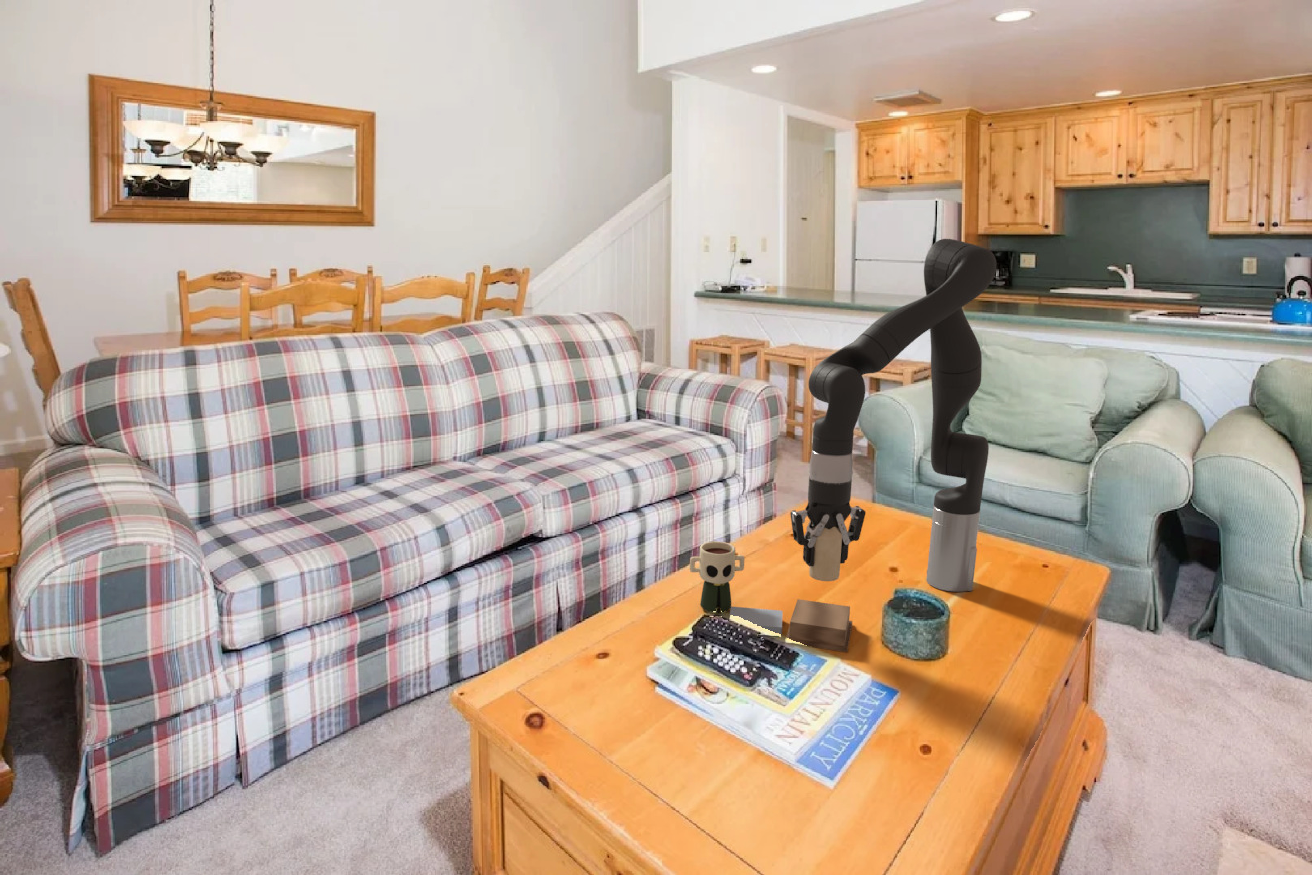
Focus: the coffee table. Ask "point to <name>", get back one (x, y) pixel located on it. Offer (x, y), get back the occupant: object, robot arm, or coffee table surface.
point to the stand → (820, 625)
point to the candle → (827, 555)
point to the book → (760, 617)
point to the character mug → (716, 574)
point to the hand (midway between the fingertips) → (824, 562)
